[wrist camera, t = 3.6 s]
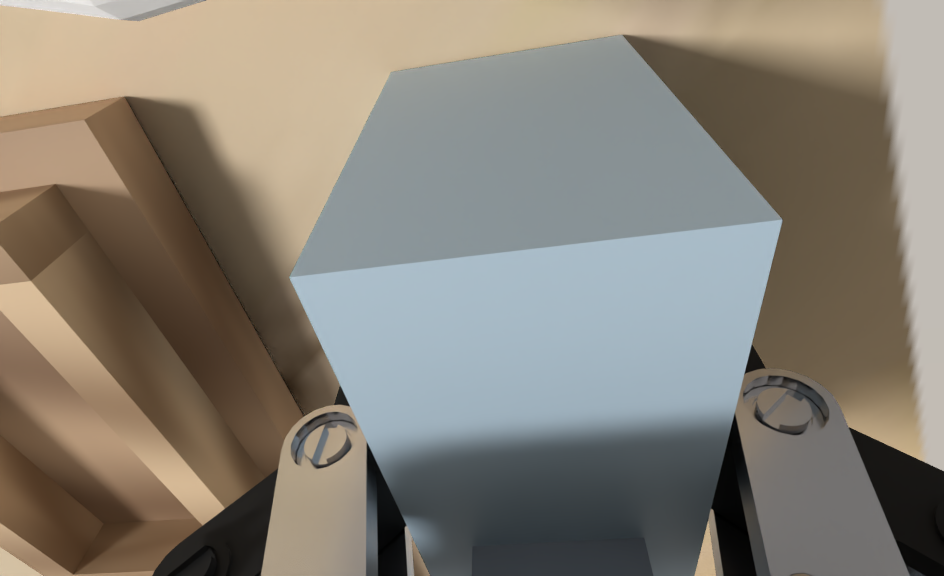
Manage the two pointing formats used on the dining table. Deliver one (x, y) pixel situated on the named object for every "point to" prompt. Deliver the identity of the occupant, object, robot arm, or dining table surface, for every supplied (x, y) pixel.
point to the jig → (117, 354)
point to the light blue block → (541, 309)
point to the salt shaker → (105, 7)
